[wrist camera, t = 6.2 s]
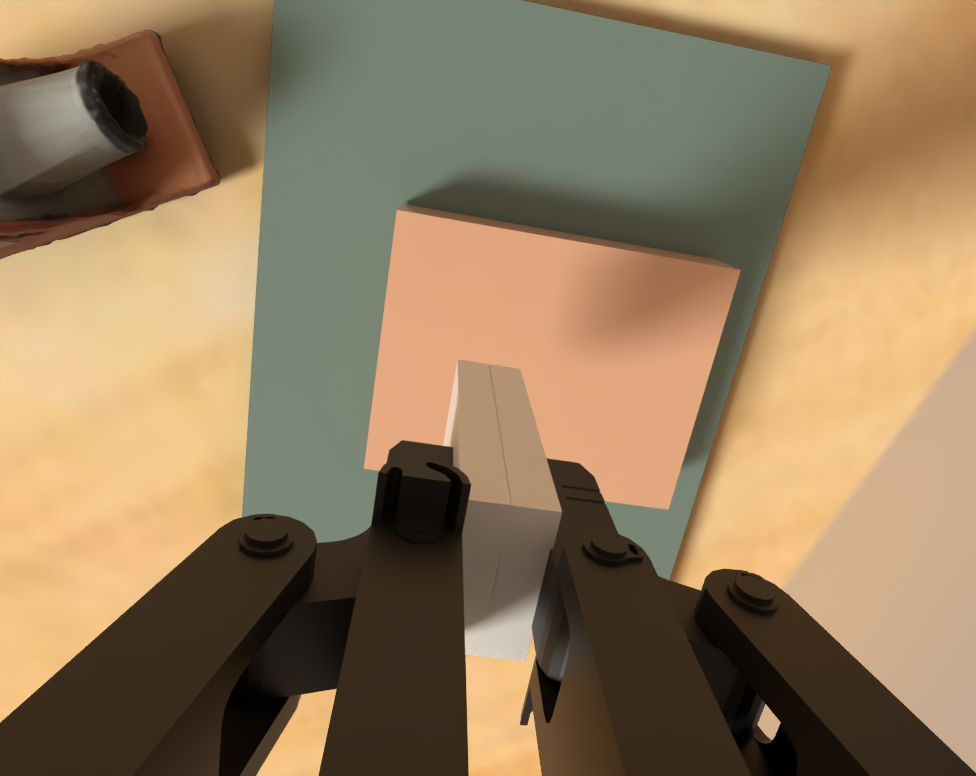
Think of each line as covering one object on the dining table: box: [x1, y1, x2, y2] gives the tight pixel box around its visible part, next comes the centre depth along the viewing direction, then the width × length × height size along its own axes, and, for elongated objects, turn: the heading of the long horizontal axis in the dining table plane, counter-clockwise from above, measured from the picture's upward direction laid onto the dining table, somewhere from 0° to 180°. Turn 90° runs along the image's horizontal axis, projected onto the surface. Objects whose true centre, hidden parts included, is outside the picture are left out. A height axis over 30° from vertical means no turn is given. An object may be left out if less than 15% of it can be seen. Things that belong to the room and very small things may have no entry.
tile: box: [364, 204, 741, 510], centre depth 21 cm, size 8×2×10 cm
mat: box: [242, 0, 831, 580], centre depth 23 cm, size 20×16×1 cm
